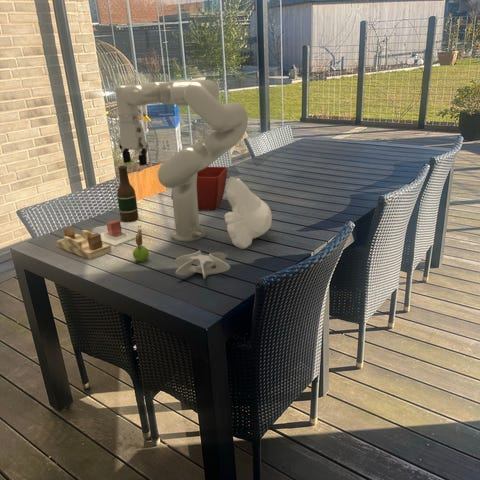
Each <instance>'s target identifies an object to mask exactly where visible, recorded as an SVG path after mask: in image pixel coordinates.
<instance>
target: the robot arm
mask: <svg viewBox="0 0 480 480" xmlns="http://www.w3.org/2000/svg"><path fill="white" fill-rule="evenodd" d="M114 90H115V91H114V92H115V99H116V106H117V112H118V113H117V114H118V118H119V119H118V120H119V121H118V122H119V139H118V140H117V141H116V142H117V144H118V146H119V149H120V152H121V153H122V154H121V155H122V159H123V160H122V161H123V163H124V164H127V163H131V162H132V158H131V152H130V151H129V150H132V151H137V153H138V156H137V157H138V163H139V164H138V165H139V166H146V165H147V164H148V162H147V153H148V150H149V143H148V142H147V141H146V136H145V132H144V129H143V125H142V122H141V121H140V119H141V118H140V113H139V107H142V106H147V105H152V104H160V103H165V104H166V103H171V104H172V103H173V105H174V106H179V107H181V106H182V107H185V106H187V107H188V106H189V108H190V109H191V110H192V111H193V112H194V113H195V114H196V115H198V117H200V118H201V119H202V120H203V121H204V122H205V123H206V124H207V125H208V126H209V127H210V128H212V129H213V130H214V131H212V132H211V133H210V134H208V135H207V136H206V137H204V138H203V139H202V140H200V141H197V142H195V143H193V144H190V145H187V146H186V147H183V148H181V150H179V151H178V152H176V153H175V154H174V155H172V156H171V157H170V158H169V159H167V160H166V161H164V162H163V163H162V164H161V165H160V166H159V169H158V171H157V179H158V182H159V183H160V184H161V185H162V186H163V187H164V188H165V187H166V188H168V189H171V196H172V207H173V215H174V216H173V217H174V226H175V231H174V232H172V234H171V235H172V238H173V240H175V241H178V242H194V241H197V240H201V238H204V236H205V234H206V232H207V231H206V230H205V229H202V225H201V224H200V215H199V214H200V213H199V210H198V200H197V172H199V171H201V170H203V169H205V168H206V167H210V165H211V164H213V163H214V162H215V161H216V160H218V159H219V158H221V157H223V155H225V154H226V153H227V152H228V151H230V150H232V149H233V148H234V147H235V146H236V145H237V144H238V143H240V141H241V140H242V138H243V137H244V135H245V134H246V131H247V129H248V125H249V122H248V121H249V119H248V118H249V116H248V111H247V110H246V108H245V106H243V105H242V104H240V102H235V101H233V102H231V101H230V102H226V103H221V101H219V100H218V99H219V96H220V89H219V86H218V84H217V83H216V82H215V81H212V80H210V79H192V80H191V79H190V80H189V79H188V80H187V79H186V80H173V81H159V82H157V81H156V82H155V81H153V82H145V83H138V84H120V85H116V86H115V89H114Z"/></svg>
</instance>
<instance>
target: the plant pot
mask: <svg viewBox="0 0 480 480" xmlns="http://www.w3.org/2000/svg"><path fill="white" fill-rule="evenodd" d="M227 173H228V167H227V166H208V167H206V168H205V169H203V170H201V171H199V172H197V200H198V211H217V209H218V208H219V206H220V205H221V204H222V202H223V198H224V194H225V191H226V183H227V175H228V174H227Z"/></svg>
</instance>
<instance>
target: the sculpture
mask: <svg viewBox="0 0 480 480" xmlns="http://www.w3.org/2000/svg"><path fill="white" fill-rule="evenodd" d="M227 257H228V255H227V253H224V252H209V254H208V255H207V254H202V251H201V250H200V249H199V250H198V251H197V252H193V253H190V254H185V255H181V256H179V257H177V258H175V259H174V261H175V263H176V264H178V265H179V268H177V269H176V270H175V272H174V273H175V275H178V276H185V277H186V276H193V275H195V274H196V273H199V274H202V277H203V280H205V279H206V277H207V276H209V275H210V276H211V275H215V274H220V273H223V272H228V271H229V270H230V269H231V266H230V264H228V263H227V262H225V260H226V258H227ZM207 262H208V263H209V262H211V264H209V265H205V263H207ZM193 263H200V264H199V265H192V264H193Z"/></svg>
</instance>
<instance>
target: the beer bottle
mask: <svg viewBox="0 0 480 480" xmlns="http://www.w3.org/2000/svg"><path fill="white" fill-rule="evenodd" d="M117 169H118V172H119V173H118V174H119V175H118V176H119V187H118V188H117V192H116V194H117V195H116V196H117V203H118V210H119V216H120V222H123V223H131V222H136V221H137V220H138V219H139V212H138V211H139V210H138V204H137V195H136V191H135V189H134V187H133V186H132V184H131V182H130V179H129V174H128V167H127V166H126V165H119V166H118V168H117Z"/></svg>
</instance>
